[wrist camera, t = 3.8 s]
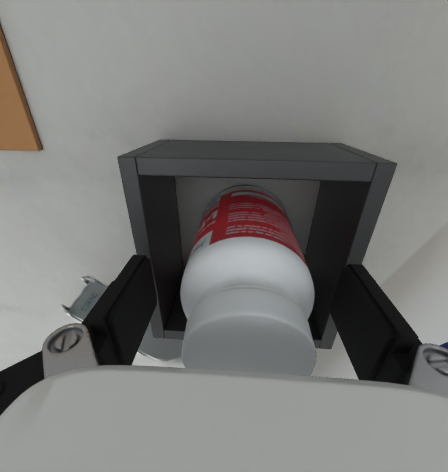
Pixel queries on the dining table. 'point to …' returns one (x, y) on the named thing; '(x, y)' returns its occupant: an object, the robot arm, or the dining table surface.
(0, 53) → the cork mat
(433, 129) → the dining table surface
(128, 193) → the bin
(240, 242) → the pill bottle
